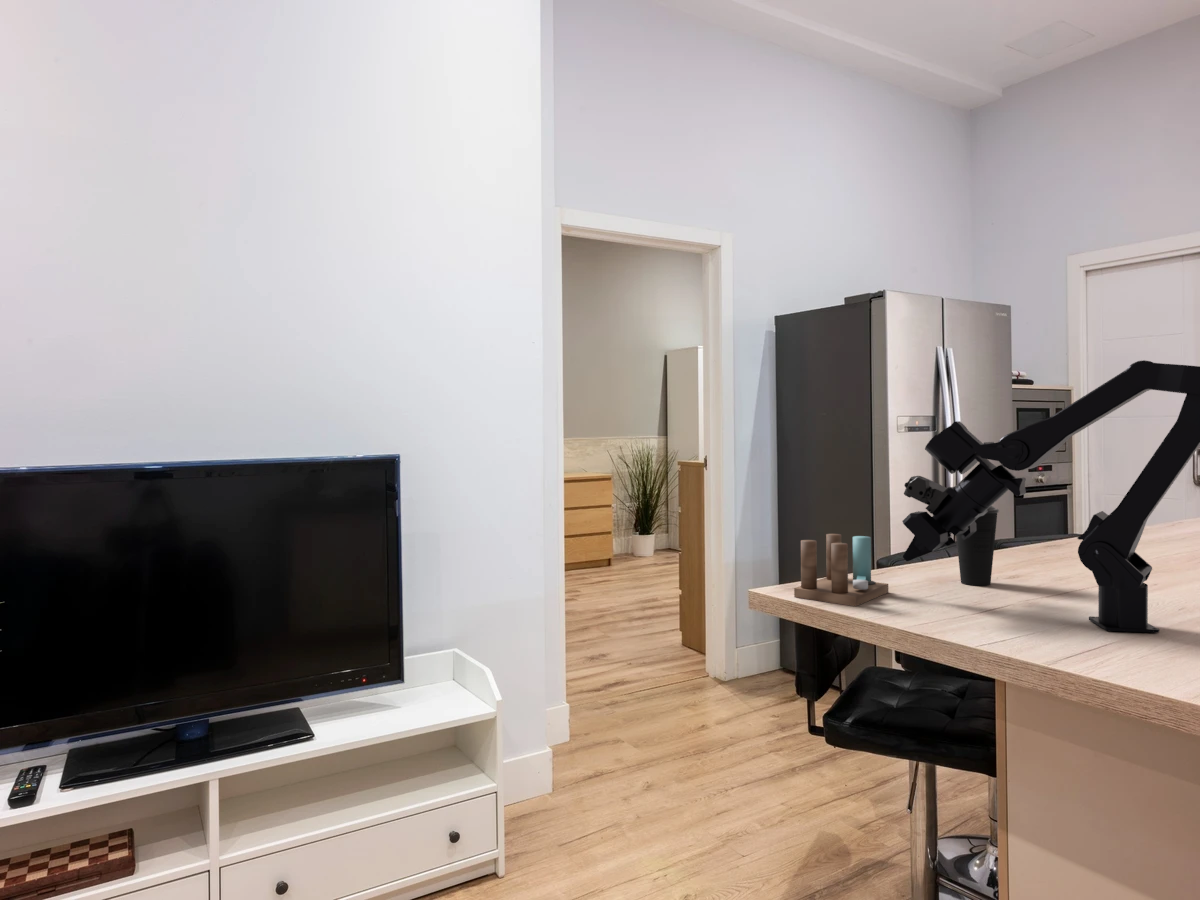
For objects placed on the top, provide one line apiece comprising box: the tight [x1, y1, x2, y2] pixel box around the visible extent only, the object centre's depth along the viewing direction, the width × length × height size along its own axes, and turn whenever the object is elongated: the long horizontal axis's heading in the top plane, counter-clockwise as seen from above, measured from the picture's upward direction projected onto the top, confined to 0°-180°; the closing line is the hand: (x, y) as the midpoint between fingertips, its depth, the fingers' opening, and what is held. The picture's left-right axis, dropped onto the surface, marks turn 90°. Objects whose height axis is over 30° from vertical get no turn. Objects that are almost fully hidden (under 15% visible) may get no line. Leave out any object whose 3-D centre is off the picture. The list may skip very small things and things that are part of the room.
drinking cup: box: [955, 505, 1000, 587], centre depth 137 cm, size 8×8×20 cm
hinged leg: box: [852, 535, 872, 590], centre depth 129 cm, size 10×3×8 cm, turn 159°
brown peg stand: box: [793, 533, 889, 607], centre depth 130 cm, size 11×13×10 cm
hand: (905, 558), depth 127 cm, fingers closed
